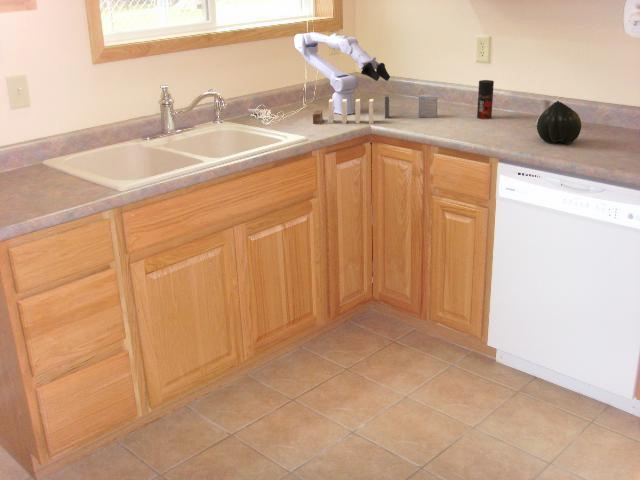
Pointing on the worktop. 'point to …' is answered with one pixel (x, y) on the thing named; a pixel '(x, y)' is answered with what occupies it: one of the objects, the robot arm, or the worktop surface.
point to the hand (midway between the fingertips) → (383, 78)
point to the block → (317, 117)
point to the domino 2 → (344, 110)
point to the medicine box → (427, 105)
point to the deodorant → (485, 99)
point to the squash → (559, 124)
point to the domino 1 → (331, 110)
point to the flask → (543, 108)
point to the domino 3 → (357, 110)
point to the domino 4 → (371, 110)
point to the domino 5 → (386, 106)
